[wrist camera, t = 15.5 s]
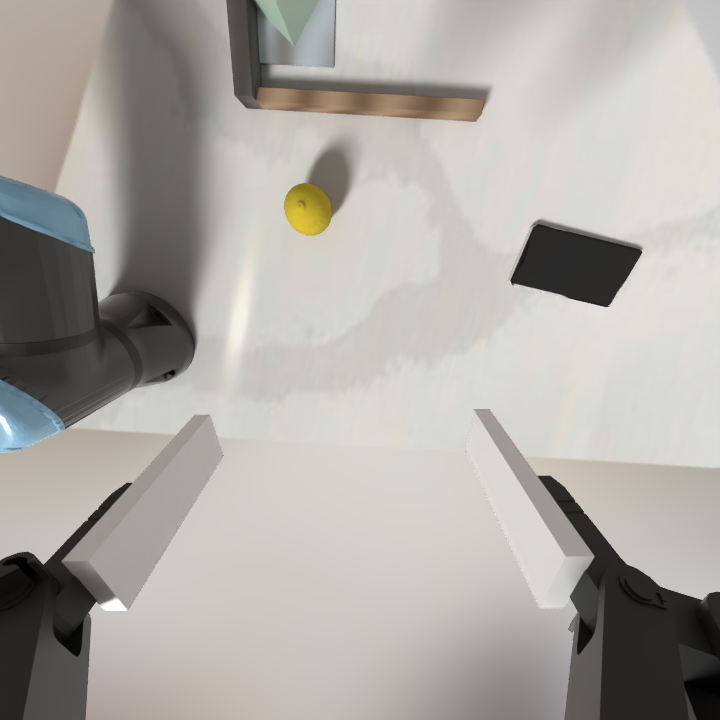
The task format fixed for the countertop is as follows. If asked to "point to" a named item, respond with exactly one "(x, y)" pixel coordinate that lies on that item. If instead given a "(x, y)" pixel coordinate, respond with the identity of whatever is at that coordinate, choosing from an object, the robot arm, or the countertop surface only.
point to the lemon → (308, 209)
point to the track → (316, 48)
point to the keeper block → (287, 15)
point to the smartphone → (572, 265)
